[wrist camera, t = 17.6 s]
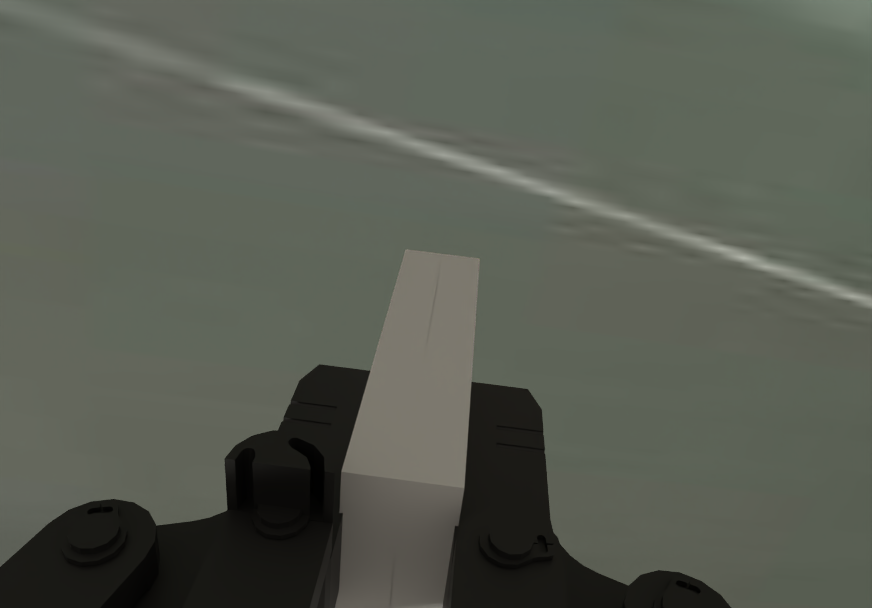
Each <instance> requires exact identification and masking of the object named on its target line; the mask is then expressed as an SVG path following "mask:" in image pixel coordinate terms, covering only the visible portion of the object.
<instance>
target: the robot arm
mask: <svg viewBox="0 0 872 608" xmlns="http://www.w3.org/2000/svg"><path fill="white" fill-rule="evenodd" d="M479 261H480V259H479V258H471V257H463V256H455V255H447V254H439V253H431V252H423V251H415V250H407V249H406V250H405V253H404V257H403V260H402V264H401V267H400V271H399V274H398V278H397V281H396V284H395V288H394V291H393V295H392V298H391V302H390V305H389V309H388V312H387V316H386V319H385V322H384V326H383V329H382V333H381V336H380V340H379V343H378V347H377V350H376V354H375V357H374V360H373V364H372V367H371V371H366V370H359V369H351V368H343V367H335V366H328V365H320V364H319V365H318V366H317V367H316V368H315V369H313V370H312V371H311V372H310V373H308V374H307V375H306V376H305V377H303V378H302V379H301V380H300V381H299V383H298V386H297V388H296V390H295V393H294V395H293V397H292V399H291V404H290V405H289V406H288V409H287V411H286V413H285V416H284V420H283V422H281V425H280V427H279V429H278V431H269V432H265V433H261V434H257V435H253V436H251V437H249V438H248V439H246V440H244V441H242V442H241V443H239V444H237V445H236V446H235V447H234V448H233V449H232V450H231V452H230V453H229V454H228V455H227V456H226V458H225V473H226V490H227V508H228V510H227V511H225V512H223V513H220V514H218V515H215V516H213V517H210V518H206V519H201V520H196V521H191V522H183V523H175V524H167V525H158V526H156V524H155V522H154V520H153V518H152V517H151V515H150V513H149V511H147V510H145V509H144V508H142V507H140V506H139V505H137V504H135V503H134V502H128V501H122V500H116V499H111V500H102V501H93V502H89V503H86V504H84V505H81V506H78V507H75V508H73V509H70V510H68V511H66V512H65V513H63V514H62V515H60V516H59V517H57V518H56V519H54V520H53V521H52V522H50V523H49V524H48V525H46V526H45V527H44V528H43V529H42V530H41V531H40V532H39V533H38V534H36V535H35V536H34V537H33V538H32V539H31V540H30V541H29V542H28V543H26V544H25V545H24V546H23V547H22V548H21V549H20V550H19V551H18V552H16V553H15V554H14V555H13V556H12V557H11V558H10V559H9V560H8V561H6V562H5V563H4V564H3V565H2V566H1V567H0V608H731V607H730V606H729V604H728V603H727V602H726V601H725V600H724V598H723V597H722V596H721V595H720V594H718V593H717V592H716V591H714V590H713V589H712V588H710V587H709V586H707V585H706V584H705V583H703V582H702V581H700V580H697V579H695V578H692V577H690V576H687V575H685V574H682V573H680V572H670V571H660V570H658V571H654V572H650V573H646V574H642V575H640V576H639V577H638V578H637V579H636V580H635V581H634V582H632V583H631V584H630V585H629V586H628V585H625V584H623V583H620V582H618V581H616V580H613V579H611V578H608V577H606V576H603V575H601V574H599V573H597V572H595V571H593V570H591V569H589V568H587V567H585V566H583V565H582V564H580V563H579V562H578V561H577V560H575V559H574V558H573V557H571V556H570V555H569V554H568V553H567V552H566V550H565V549H564V548H563V547H562V546H561V545H560V543H559V540H558V537H557V536H556V535H555V534H554V533H553V529H552V525H551V521H550V510H549V497H548V484H547V472H546V459H545V454H544V451H545V446H544V435H543V421H542V409H541V408H540V406H539V405H538V403H537V402H536V401H535V399H534V398H533V396H532V395H531V393H530V392H529V390H528V389H522V388H515V387H507V386H499V385H491V384H484V383H476V382H471V381H472V366H473V351H474V336H475V321H476V306H477V291H478V276H479Z"/></svg>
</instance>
